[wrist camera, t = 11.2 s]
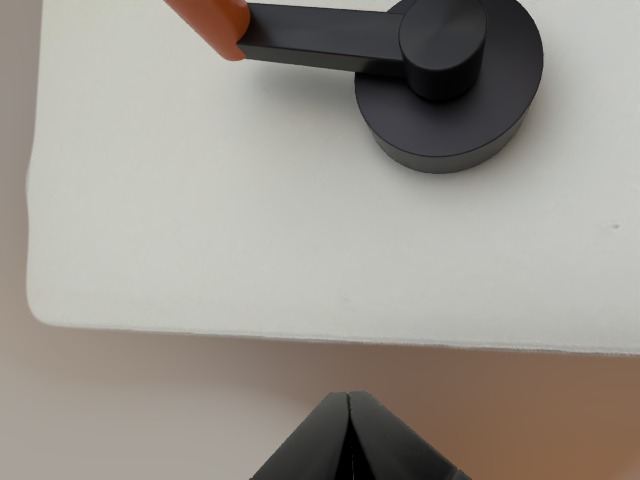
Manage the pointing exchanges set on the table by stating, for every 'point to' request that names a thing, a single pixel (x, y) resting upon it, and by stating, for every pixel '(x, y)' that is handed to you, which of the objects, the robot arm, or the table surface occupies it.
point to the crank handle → (352, 39)
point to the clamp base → (459, 99)
